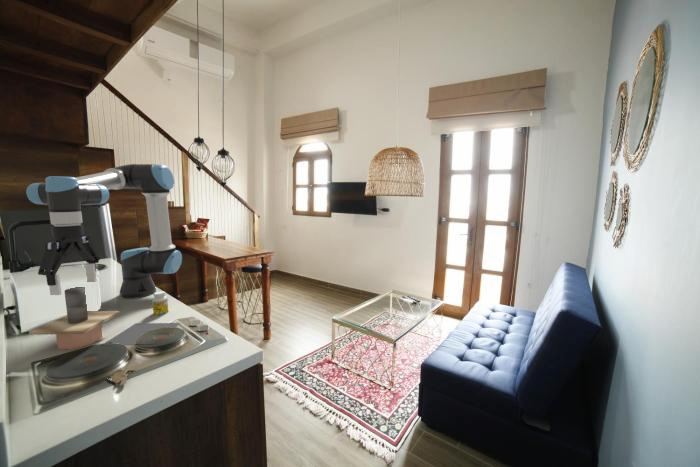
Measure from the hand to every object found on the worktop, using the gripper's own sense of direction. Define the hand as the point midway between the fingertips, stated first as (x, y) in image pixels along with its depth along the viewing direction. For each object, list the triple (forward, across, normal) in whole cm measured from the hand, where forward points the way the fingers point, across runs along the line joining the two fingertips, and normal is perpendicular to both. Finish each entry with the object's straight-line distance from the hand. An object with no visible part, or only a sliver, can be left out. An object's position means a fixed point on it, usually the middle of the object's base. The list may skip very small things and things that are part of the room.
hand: (75, 287), depth 99 cm
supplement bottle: (+20, -23, +13) cm, 33 cm away
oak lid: (+12, 0, 0) cm, 12 cm away
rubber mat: (+19, -4, +18) cm, 27 cm away
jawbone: (+20, +16, +33) cm, 42 cm away
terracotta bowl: (+19, +1, 0) cm, 19 cm away
